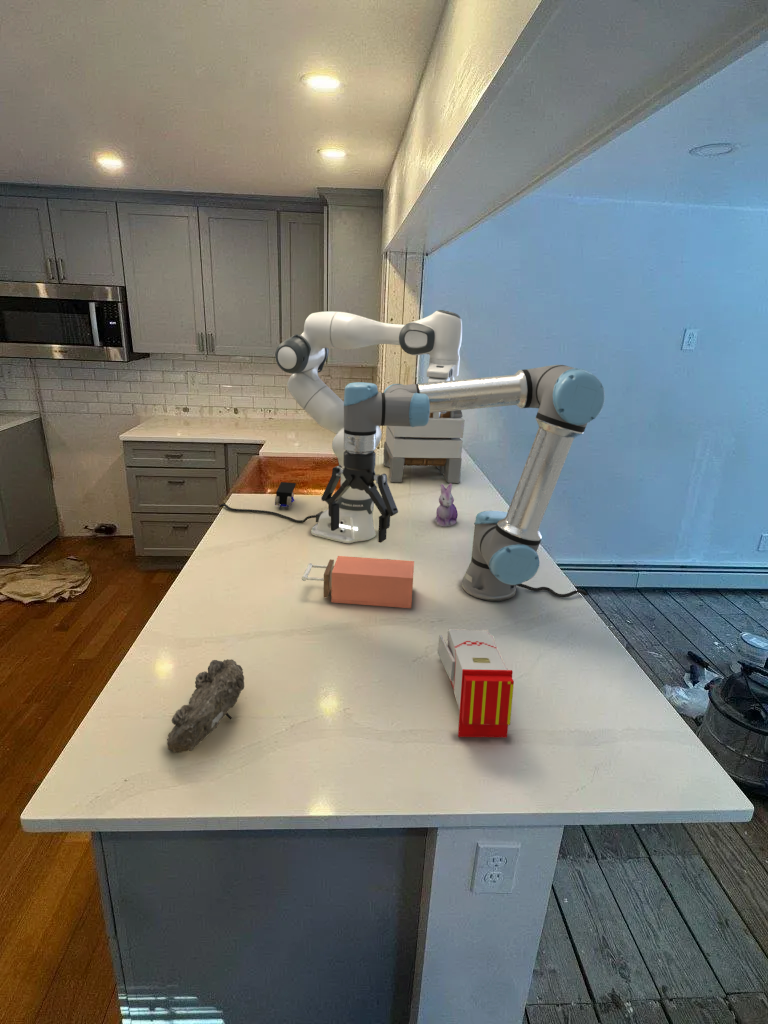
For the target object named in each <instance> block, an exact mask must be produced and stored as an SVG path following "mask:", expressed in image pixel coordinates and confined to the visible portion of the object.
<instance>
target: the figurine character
mask: <svg viewBox="0 0 768 1024" xmlns="http://www.w3.org/2000/svg"><path fill="white" fill-rule="evenodd" d="M296 485H297V483H296V482H286V481H285V482H284V481H280V483H279V486H278V487H277V490H276V491H275V497H274V498H275V499H274V506H278V509H279V510H282V507H285V508H286V510H288V509H289V507H290V506H292V503H294V502H295V499H294V497H295V493H294V490H295V487H296Z"/></svg>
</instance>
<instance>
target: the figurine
mask: <svg viewBox="0 0 768 1024" xmlns="http://www.w3.org/2000/svg"><path fill="white" fill-rule="evenodd" d="M452 489H453V483H449V484H448V485H447V487H445V485H444V484H443V483H441V484H440V494H439V497H438V503H439V506H438V507H437V508H436V513H435V515H436V517H435V521H434V522H435V523H436V524H437V526H440V527H450V526H454V525H455V524H457V520H458V517H459V516H458V514H459V513H458V510H457V507H456V505H455V504H454V502H455V498H454V495H453V493H452Z"/></svg>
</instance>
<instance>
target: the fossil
mask: <svg viewBox="0 0 768 1024" xmlns="http://www.w3.org/2000/svg"><path fill="white" fill-rule="evenodd" d="M243 670H244V669H243V667H242V665H240V664H237V662H236V661H235V660H234V659H232V658H231V659H227V658H226V659H224V660H223V661H222V660H217V659H212V660H211V661H210V663H209V665H208V666H207V671H201V672H199V673H198V674H197V675H196V676H195V680H194V684H195V685H194V687H195V689H194V690H193V693H192V694H191V697H190V698H189V700H188V704H184V705H182V706H181V707H180V709H177V710H176V711H175V713H174V715H173V716H172V718H171V723H172V724H173V727H172V730H171V731H170V732H168V734H167V738H166V741H167V742H166V745H167V749H168V750H169V751H173V752H174V753H176V754H178V753H182V752H188V751H189V752H192V751H193V750H195V748H196V747H197V746H199V744H200V743H201V742H203V741H204V740H205V739H206V738H207V737H208V736H209V735H210V734H211V733H212V732H214V730H215V729H217V727H218V726H219V724H220V722H221V721H222V720H223V719H224V718H225V716H226V717H227V719H229V720H233V717H232V715H230V714H229V710H230V709H231V708H234V706H235V704H236V703H237V702H238V699H239V697H240V695H241V693H242V691H243V690H245V689H244V688H245V675H244V671H243Z"/></svg>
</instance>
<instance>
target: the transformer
mask: <svg viewBox="0 0 768 1024" xmlns="http://www.w3.org/2000/svg"><path fill="white" fill-rule="evenodd" d="M385 427H386V428H385V438H384V442H383V466H384V467H388V468H389V475H388V476H389V477H388V478H389V480H390V482H391V483H402V482H403V475H404V469H405V466H406V467H407V466H411V467H412V466H413V467H415V466H416V467H417V466H418V467H436V468H437V470H438V469H439V473H440V474H441V475H443V478H444V479H445V481H446V482H447V483H449V484H450V483H452V484H455V483H456V484H459V483H461V472H462V461H463V460H462V453H463V442H464V441H463V440H462V439H463V438H464V431H465V430H464V429H465V419H464V418H463V411H462V410H456V411H446V413H445V414H441V413H440V418H439V419H434V418H433V413H430V414H429V420H428V423H427V424H426V425H425V426H416V427H410V426H385Z"/></svg>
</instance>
